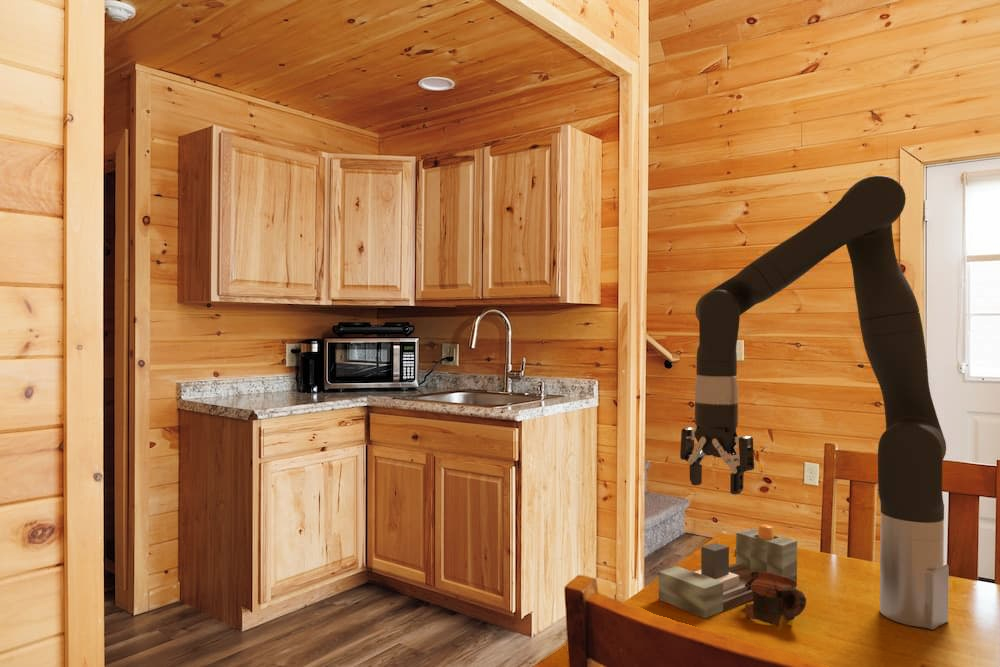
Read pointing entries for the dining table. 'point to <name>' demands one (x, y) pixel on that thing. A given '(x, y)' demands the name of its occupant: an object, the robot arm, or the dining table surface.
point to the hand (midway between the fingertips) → (715, 489)
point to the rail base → (750, 556)
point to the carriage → (717, 565)
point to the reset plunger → (766, 532)
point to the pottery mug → (773, 598)
